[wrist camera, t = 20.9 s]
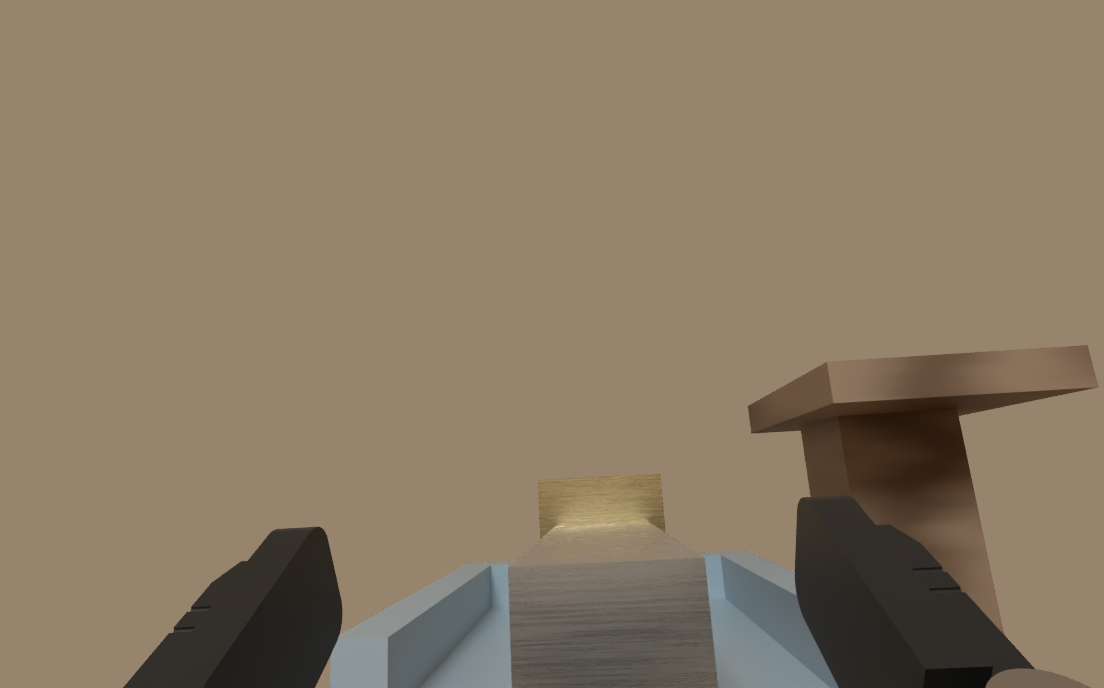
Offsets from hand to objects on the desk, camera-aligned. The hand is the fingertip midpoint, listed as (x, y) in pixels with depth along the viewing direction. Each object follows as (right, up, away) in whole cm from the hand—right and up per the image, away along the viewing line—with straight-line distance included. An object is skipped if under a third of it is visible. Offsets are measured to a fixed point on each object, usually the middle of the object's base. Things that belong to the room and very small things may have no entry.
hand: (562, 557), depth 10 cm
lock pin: (+2, -7, +10) cm, 12 cm away
